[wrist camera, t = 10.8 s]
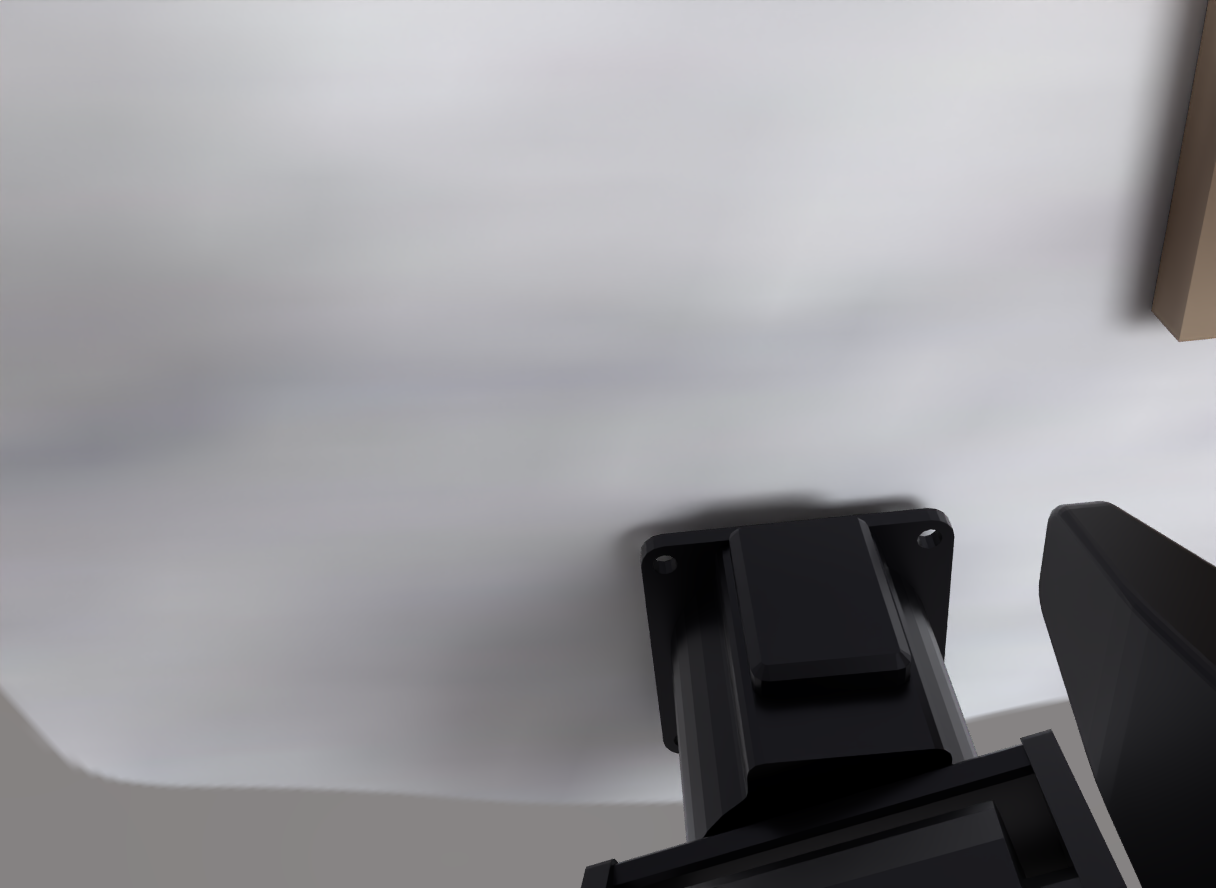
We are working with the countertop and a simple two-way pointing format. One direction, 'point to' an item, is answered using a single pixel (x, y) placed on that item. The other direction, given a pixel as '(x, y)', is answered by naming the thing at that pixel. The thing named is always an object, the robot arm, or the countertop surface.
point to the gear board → (1193, 211)
